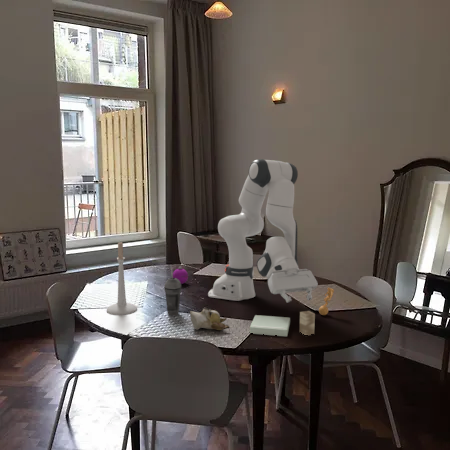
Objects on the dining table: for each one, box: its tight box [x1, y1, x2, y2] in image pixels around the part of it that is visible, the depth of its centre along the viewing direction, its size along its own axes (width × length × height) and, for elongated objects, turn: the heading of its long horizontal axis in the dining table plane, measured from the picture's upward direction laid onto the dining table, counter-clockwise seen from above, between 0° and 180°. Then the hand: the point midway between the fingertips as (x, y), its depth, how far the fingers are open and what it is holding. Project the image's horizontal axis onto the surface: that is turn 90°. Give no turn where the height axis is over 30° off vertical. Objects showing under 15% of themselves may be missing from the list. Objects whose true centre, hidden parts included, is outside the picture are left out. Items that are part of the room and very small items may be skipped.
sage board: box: [249, 314, 291, 337], centre depth 188 cm, size 14×14×3 cm
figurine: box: [318, 286, 335, 316], centre depth 203 cm, size 8×6×12 cm
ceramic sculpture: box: [189, 307, 230, 331], centre depth 187 cm, size 11×9×15 cm
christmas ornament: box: [172, 264, 189, 285], centre depth 250 cm, size 8×8×10 cm
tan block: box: [299, 310, 316, 336], centre depth 182 cm, size 4×4×8 cm
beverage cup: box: [164, 266, 182, 317], centre depth 202 cm, size 7×7×20 cm
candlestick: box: [106, 241, 138, 316], centre depth 206 cm, size 13×13×30 cm
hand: (299, 300), depth 186 cm, fingers open, 8 cm apart
